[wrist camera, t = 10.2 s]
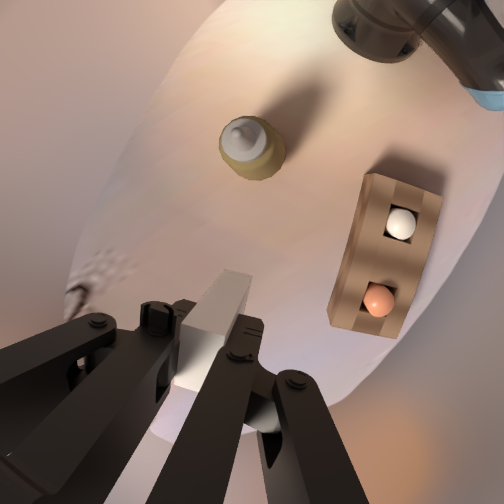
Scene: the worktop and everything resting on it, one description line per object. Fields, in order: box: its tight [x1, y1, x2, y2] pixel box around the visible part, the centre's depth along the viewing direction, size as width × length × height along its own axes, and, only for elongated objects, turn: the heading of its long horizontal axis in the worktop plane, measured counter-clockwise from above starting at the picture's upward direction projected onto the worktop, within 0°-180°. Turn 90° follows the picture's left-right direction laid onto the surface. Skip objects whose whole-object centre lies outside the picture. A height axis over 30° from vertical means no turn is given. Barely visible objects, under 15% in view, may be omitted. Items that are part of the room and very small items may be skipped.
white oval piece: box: [384, 207, 416, 240], centre depth 38 cm, size 4×4×6 cm
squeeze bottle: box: [219, 116, 285, 181], centre depth 33 cm, size 8×8×18 cm
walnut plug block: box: [327, 173, 443, 339], centre depth 40 cm, size 22×11×6 cm, turn 168°
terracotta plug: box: [363, 281, 394, 317], centre depth 40 cm, size 4×4×6 cm
